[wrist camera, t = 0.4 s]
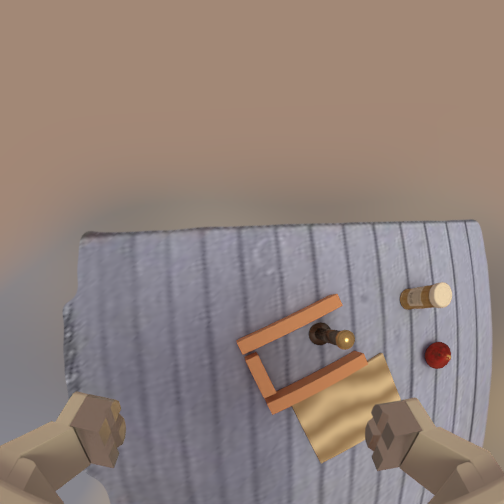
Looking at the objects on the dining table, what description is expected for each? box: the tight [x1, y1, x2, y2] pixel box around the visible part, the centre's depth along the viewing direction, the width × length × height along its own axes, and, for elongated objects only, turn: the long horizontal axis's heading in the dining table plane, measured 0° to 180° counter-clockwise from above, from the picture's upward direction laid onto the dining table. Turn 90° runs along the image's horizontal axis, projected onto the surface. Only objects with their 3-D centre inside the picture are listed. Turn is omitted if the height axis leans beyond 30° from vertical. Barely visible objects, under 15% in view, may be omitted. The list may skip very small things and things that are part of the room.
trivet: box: [292, 353, 400, 463], centre depth 57 cm, size 16×21×1 cm
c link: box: [236, 294, 368, 415], centre depth 57 cm, size 20×15×5 cm
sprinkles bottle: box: [400, 283, 452, 310], centre depth 56 cm, size 5×5×14 cm
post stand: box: [309, 323, 355, 349], centre depth 52 cm, size 4×4×16 cm
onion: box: [425, 342, 451, 369], centre depth 56 cm, size 6×6×8 cm
